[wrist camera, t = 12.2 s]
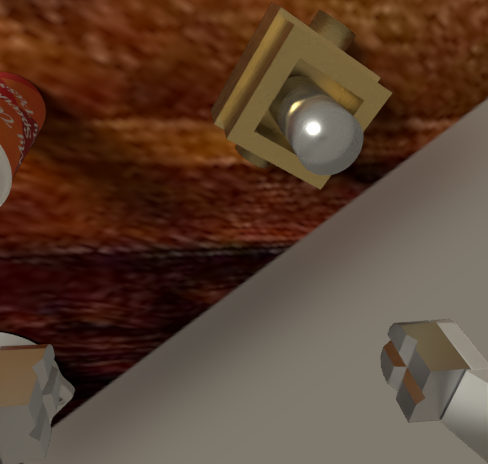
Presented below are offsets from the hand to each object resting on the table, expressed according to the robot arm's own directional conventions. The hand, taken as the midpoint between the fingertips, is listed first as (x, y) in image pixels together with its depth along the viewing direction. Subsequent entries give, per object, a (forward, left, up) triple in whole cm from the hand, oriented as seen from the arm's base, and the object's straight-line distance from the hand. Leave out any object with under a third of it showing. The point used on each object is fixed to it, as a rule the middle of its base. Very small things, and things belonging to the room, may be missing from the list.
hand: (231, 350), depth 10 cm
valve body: (+3, -8, -32) cm, 33 cm away
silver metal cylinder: (+2, -8, -28) cm, 29 cm away
